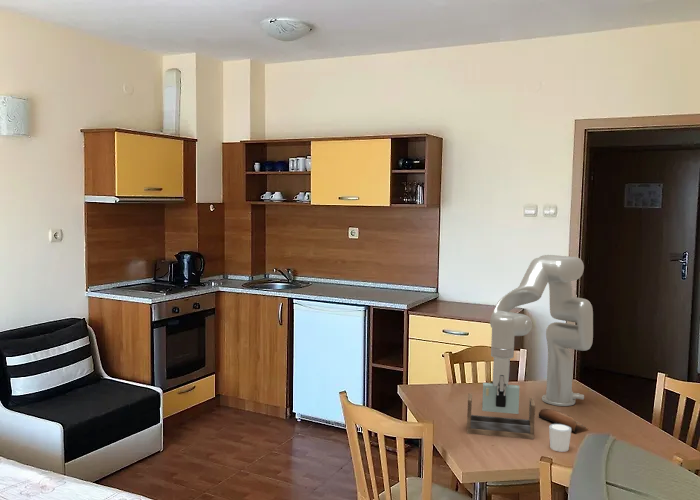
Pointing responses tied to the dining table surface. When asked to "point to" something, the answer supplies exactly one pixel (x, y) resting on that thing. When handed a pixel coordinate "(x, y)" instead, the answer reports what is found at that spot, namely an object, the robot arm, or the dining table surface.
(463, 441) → the dining table surface
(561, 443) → the white cup
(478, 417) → the wooden book rack
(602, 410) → the dining table surface
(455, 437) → the dining table surface
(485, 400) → the pale green box
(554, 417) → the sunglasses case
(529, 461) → the dining table surface
